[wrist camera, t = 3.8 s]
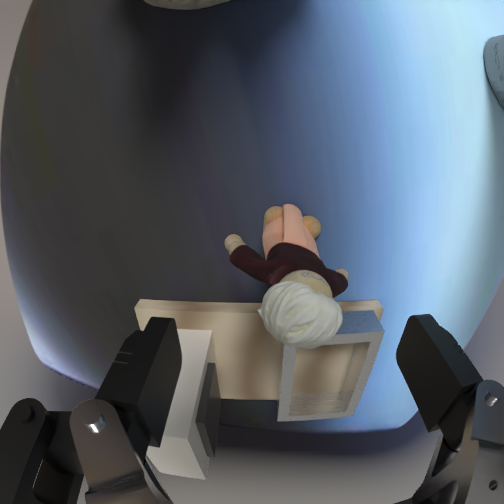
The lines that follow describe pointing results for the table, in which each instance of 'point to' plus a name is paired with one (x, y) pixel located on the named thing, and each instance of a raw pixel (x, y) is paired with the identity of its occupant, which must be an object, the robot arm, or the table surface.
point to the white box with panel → (191, 410)
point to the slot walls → (345, 401)
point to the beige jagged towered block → (184, 3)
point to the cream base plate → (256, 347)
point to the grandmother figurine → (293, 279)
